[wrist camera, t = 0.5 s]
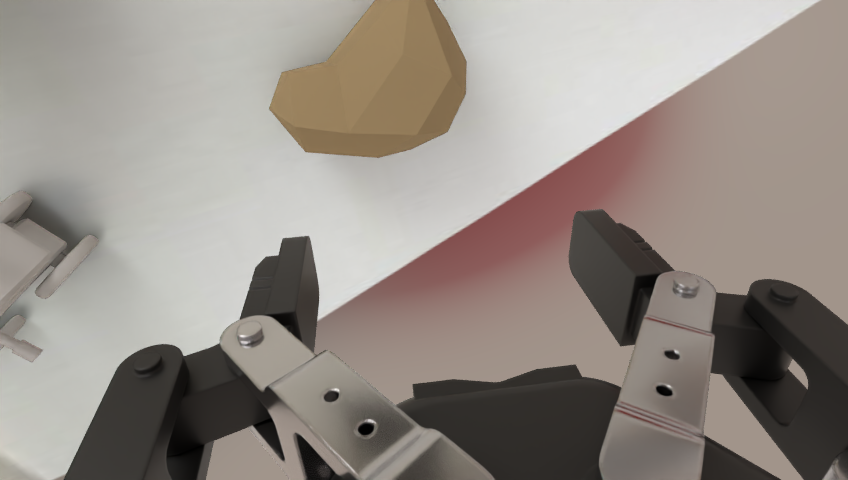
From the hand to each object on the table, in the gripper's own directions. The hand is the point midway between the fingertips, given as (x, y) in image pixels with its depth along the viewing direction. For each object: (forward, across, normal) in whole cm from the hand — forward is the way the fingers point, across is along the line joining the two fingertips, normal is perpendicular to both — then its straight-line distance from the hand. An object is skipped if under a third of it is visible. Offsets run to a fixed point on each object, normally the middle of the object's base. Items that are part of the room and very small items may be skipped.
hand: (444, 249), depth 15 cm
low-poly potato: (+29, +2, +1) cm, 29 cm away
